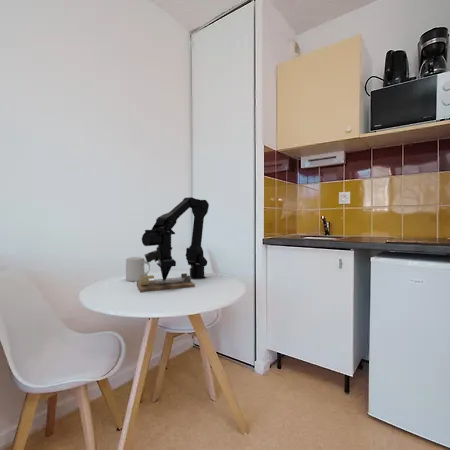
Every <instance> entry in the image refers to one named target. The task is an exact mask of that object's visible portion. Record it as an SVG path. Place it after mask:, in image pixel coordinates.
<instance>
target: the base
mask: <svg viewBox="0 0 450 450" xmlns="http://www.w3.org/2000/svg"><path fill="white" fill-rule="evenodd" d="M180 277H185V282H175V283H163V284H155V283H154V280H155V279H154V280H149V285H141V284H140V281H136V285H137V286H136V287H137V288H138V291H139V293H148V292H157V291H158V292H159V291H165V290H166V291H167V290H176V289H187V288H195V287H196V285H195V283H193V282H192V281H191V280H192V278H191V276H190V275H188V273H187V272H186V273H181V276H180Z"/></svg>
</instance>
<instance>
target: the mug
mask: <svg viewBox="0 0 450 450" xmlns="http://www.w3.org/2000/svg"><path fill="white" fill-rule="evenodd" d="M145 264H147V265H148V270H147V271H145ZM150 269H151V264H150V262H147V261H146V259H145V256H144V257H143V256H130V257H125V279H126V281H127V282H131V281H136V282H139V281H140V275H148V274H149V273H150Z"/></svg>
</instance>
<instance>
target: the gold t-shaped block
mask: <svg viewBox="0 0 450 450" xmlns="http://www.w3.org/2000/svg"><path fill="white" fill-rule="evenodd" d="M149 279H155V276H154V275H148V274H147V275H140V284H141V285H149V281H150V280H149Z"/></svg>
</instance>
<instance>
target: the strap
mask: <svg viewBox="0 0 450 450" xmlns="http://www.w3.org/2000/svg"><path fill="white" fill-rule="evenodd" d="M175 282H185V277H181V276H180V277H169V278H168V277H167V278H166V280H163V278H157V279H155V278H154V283H155V284H163V283H175Z"/></svg>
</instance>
